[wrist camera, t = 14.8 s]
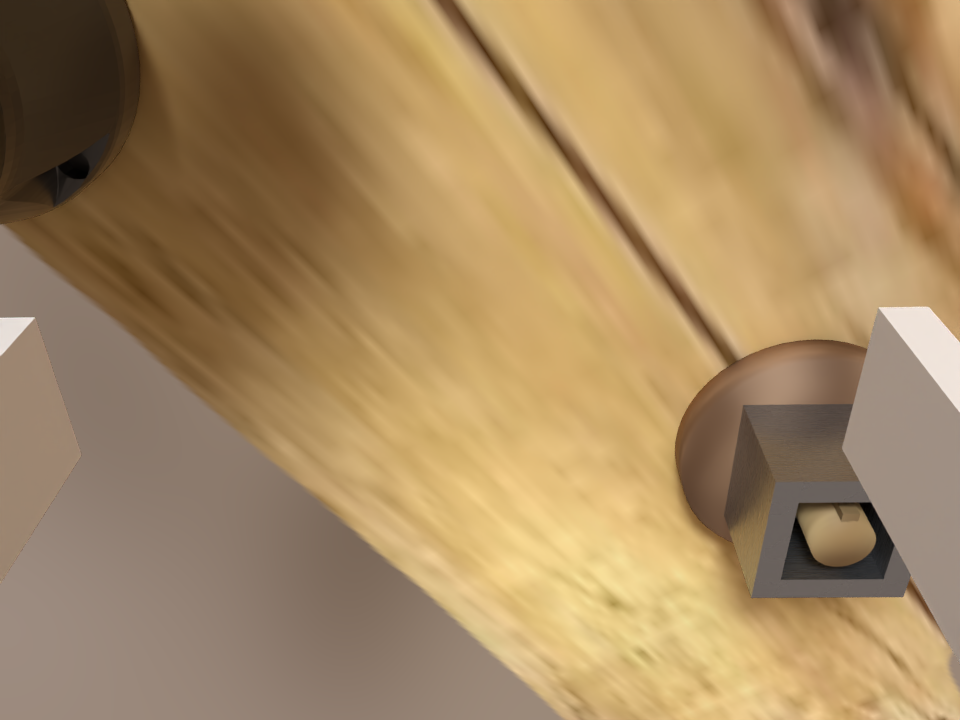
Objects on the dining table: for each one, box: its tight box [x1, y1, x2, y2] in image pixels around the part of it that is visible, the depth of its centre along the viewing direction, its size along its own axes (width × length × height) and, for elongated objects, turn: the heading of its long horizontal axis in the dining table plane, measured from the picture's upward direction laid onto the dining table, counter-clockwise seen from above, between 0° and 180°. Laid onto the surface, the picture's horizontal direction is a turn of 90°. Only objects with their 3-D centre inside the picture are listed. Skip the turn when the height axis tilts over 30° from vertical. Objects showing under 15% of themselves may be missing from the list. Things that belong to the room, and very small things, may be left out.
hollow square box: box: [724, 404, 911, 598], centre depth 44 cm, size 8×8×6 cm
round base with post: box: [675, 340, 876, 567], centre depth 45 cm, size 13×13×8 cm
